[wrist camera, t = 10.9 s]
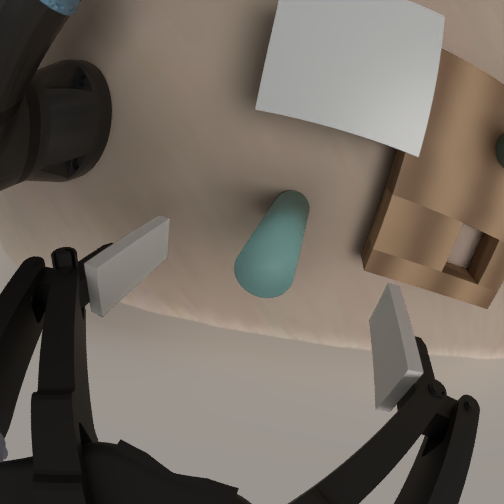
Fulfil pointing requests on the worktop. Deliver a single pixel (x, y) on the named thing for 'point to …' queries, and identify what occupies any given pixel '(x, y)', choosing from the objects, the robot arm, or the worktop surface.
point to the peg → (274, 247)
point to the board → (447, 192)
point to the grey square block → (355, 67)
